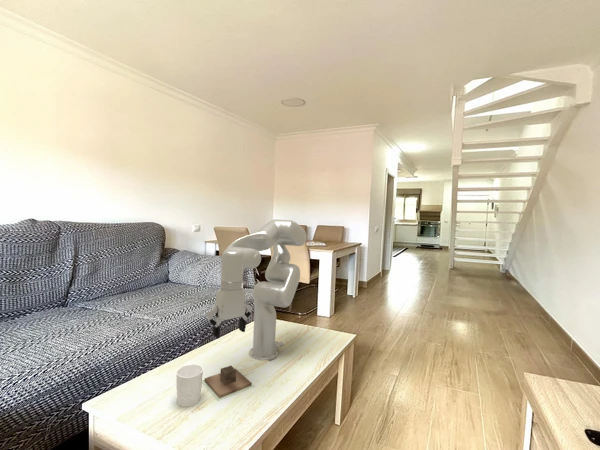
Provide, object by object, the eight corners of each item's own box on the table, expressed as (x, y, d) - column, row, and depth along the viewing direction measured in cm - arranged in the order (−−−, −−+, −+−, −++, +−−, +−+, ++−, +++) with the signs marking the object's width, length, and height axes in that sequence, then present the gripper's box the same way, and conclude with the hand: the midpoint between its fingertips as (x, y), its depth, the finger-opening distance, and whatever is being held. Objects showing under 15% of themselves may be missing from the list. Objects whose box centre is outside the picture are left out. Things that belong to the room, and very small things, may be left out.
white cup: (192, 411, 87) (194, 379, 86) (169, 407, 88) (170, 375, 88) (206, 396, 94) (207, 366, 94) (184, 392, 96) (186, 362, 96)
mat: (236, 370, 111) (236, 369, 111) (255, 387, 101) (255, 386, 100) (200, 382, 102) (200, 380, 102) (217, 402, 91) (217, 401, 91)
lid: (234, 370, 110) (235, 357, 110) (251, 385, 101) (252, 371, 101) (204, 381, 102) (204, 367, 102) (219, 398, 93) (220, 383, 93)
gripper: (247, 280, 109) (245, 325, 109) (203, 286, 98) (201, 335, 98) (258, 284, 103) (256, 332, 104) (212, 290, 92) (210, 343, 92)
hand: (229, 333), depth 101 cm, fingers open, 9 cm apart
